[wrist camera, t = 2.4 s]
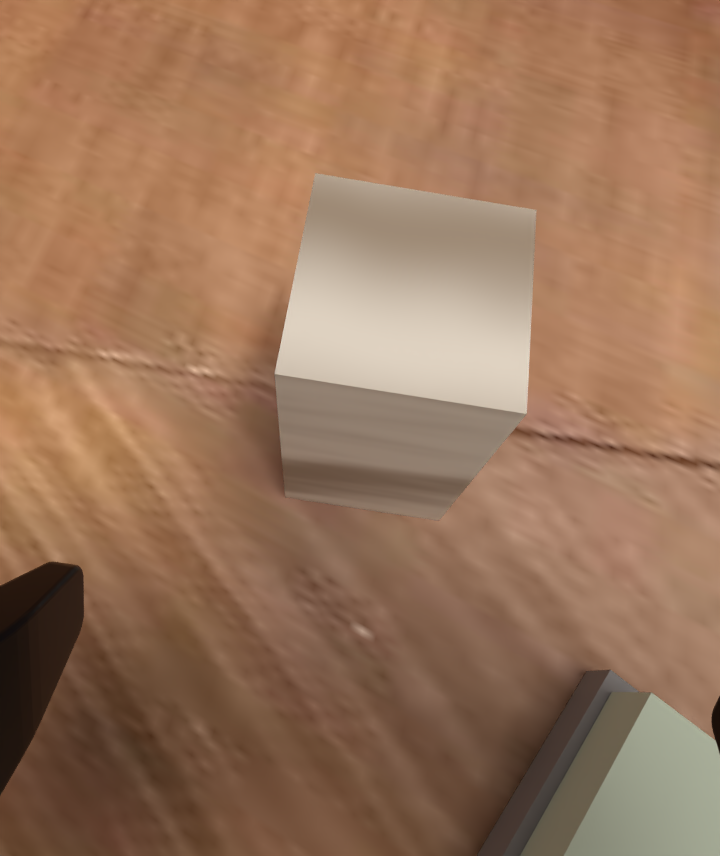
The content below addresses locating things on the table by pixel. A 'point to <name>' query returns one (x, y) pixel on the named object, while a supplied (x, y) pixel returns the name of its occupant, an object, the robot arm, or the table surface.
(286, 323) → the tall block
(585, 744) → the top tile
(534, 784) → the base tile
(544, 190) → the table surface
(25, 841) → the table surface
